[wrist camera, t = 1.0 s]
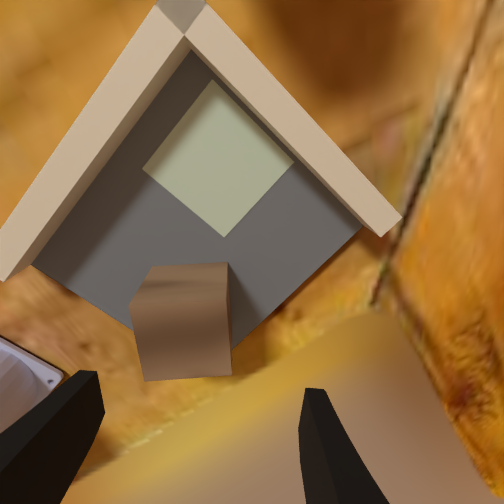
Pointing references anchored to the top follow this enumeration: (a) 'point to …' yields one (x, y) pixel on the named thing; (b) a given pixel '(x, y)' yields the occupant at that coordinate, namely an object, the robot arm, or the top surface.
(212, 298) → the walnut cube
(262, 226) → the grey corner tray
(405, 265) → the top surface
